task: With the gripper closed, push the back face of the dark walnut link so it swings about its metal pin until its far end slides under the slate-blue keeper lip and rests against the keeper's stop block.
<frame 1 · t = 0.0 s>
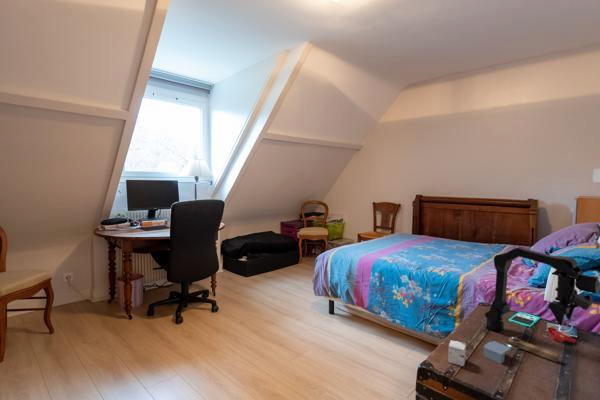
hand: (564, 321, 135), 15 cm above the table, tool pointing down, fingers open, 9 cm apart
handheld game console: (524, 321, 170), on the table
pintle: (514, 345, 144), on the table
keeper: (497, 356, 136), on the table
skincare box: (457, 361, 133), on the table
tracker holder: (560, 338, 150), on the table
link: (532, 348, 139), point 2 cm above the table, hinge at 0.0°
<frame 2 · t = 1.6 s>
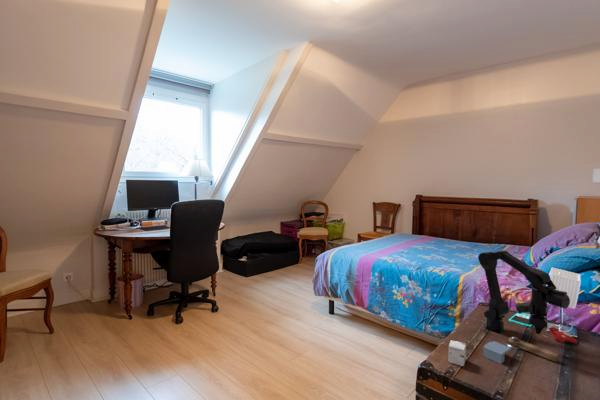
hand: (537, 333, 141), 7 cm above the table, tool pointing down, fingers closed
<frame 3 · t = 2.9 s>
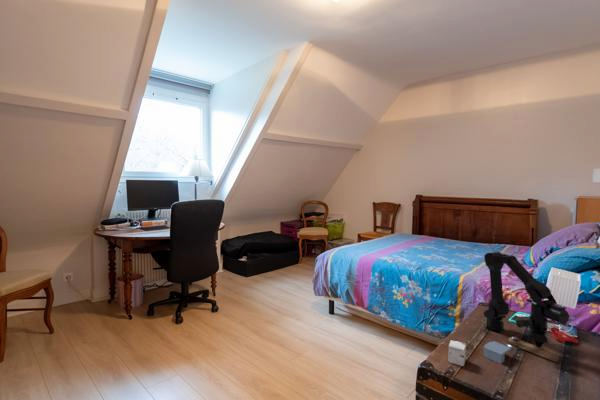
hand: (538, 348, 139), 2 cm above the table, tool pointing down, fingers closed
link: (532, 348, 139), point 2 cm above the table, hinge at 0.0°, touching gripper
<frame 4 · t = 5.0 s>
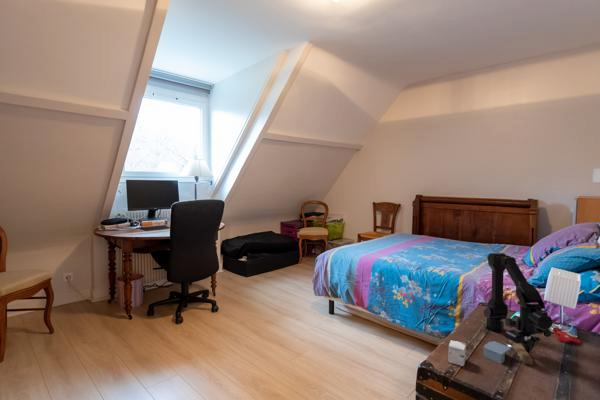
hand: (527, 352, 136), 2 cm above the table, tool pointing down, fingers closed
link: (520, 349, 138), point 2 cm above the table, hinge at -50.3°, touching gripper
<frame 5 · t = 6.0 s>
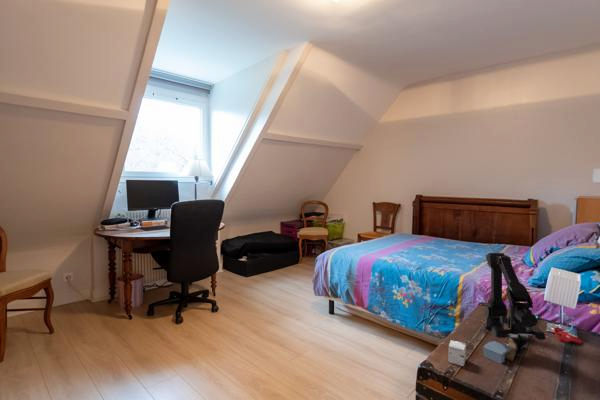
hand: (518, 351, 137), 2 cm above the table, tool pointing down, fingers closed
link: (512, 348, 139), point 2 cm above the table, hinge at -74.8°, touching gripper
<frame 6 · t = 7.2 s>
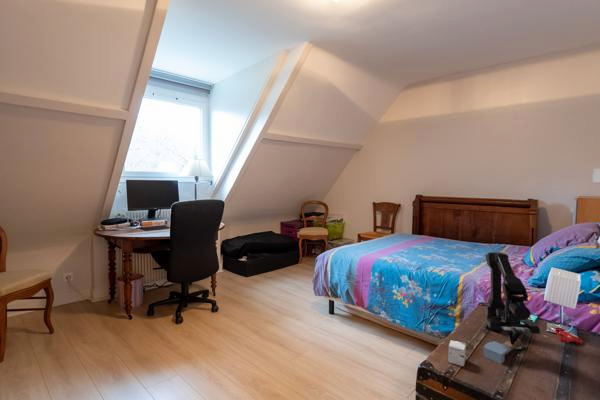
hand: (512, 344, 137), 4 cm above the table, tool pointing down, fingers closed
link: (507, 346, 141), point 2 cm above the table, hinge at -88.8°
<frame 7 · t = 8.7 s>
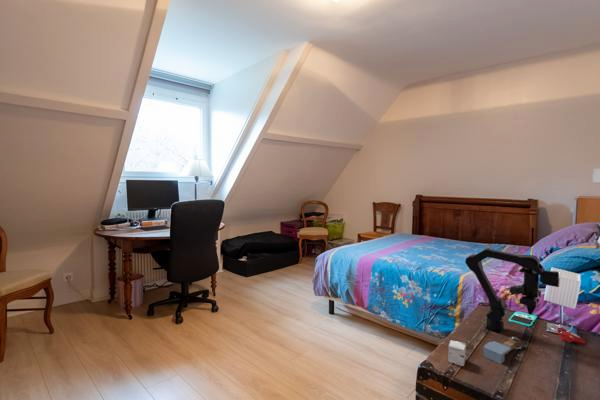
hand: (530, 314, 149), 12 cm above the table, tool pointing down, fingers closed
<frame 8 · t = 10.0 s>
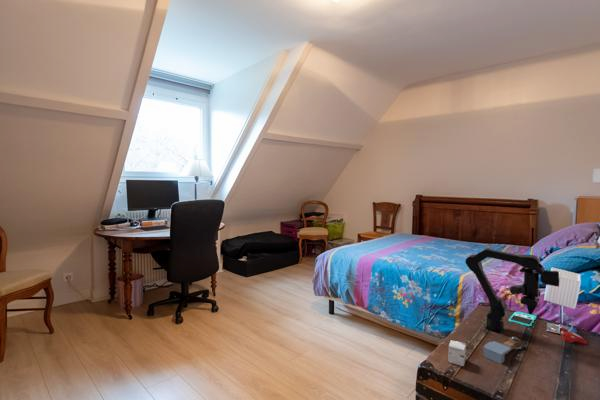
hand: (530, 313, 150), 12 cm above the table, tool pointing down, fingers closed
at the end: link at -89° (first picture: +0°) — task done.
